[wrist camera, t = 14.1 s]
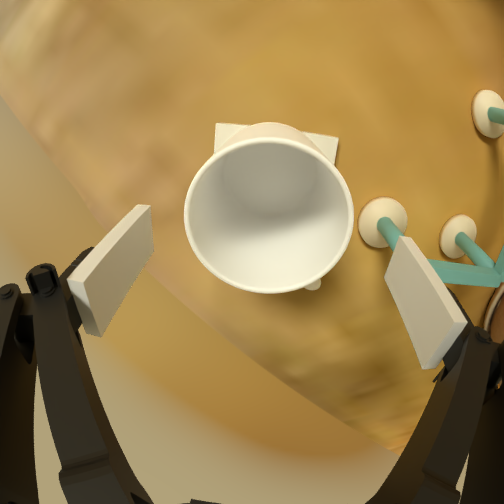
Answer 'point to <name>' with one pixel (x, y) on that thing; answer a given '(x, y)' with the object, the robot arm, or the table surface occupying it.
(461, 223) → the wire course
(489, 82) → the table surface
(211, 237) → the mug
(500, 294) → the potted plant
